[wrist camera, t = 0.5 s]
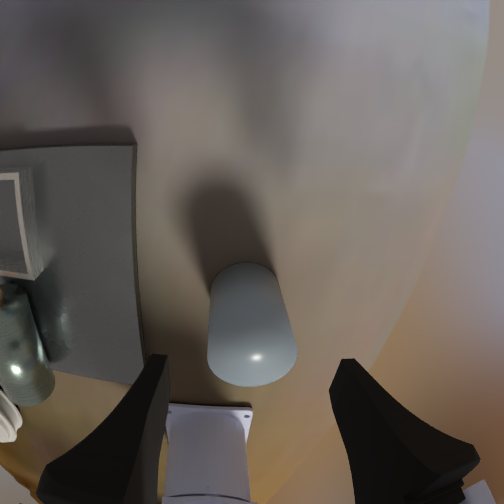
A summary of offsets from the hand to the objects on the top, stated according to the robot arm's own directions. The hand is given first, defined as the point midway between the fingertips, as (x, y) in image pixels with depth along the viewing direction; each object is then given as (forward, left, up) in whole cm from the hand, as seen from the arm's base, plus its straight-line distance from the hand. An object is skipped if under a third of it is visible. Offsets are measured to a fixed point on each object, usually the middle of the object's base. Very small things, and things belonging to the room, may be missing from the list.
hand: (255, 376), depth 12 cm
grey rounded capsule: (-1, 0, -9) cm, 9 cm away
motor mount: (-1, +17, -9) cm, 19 cm away
